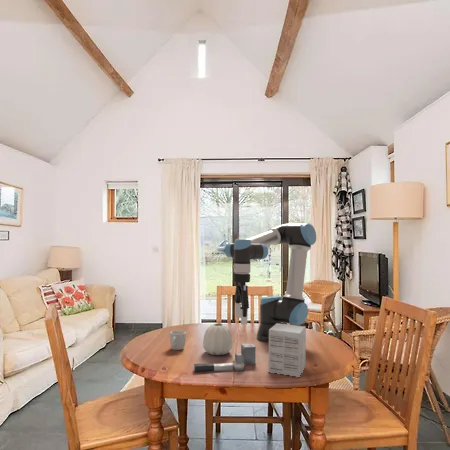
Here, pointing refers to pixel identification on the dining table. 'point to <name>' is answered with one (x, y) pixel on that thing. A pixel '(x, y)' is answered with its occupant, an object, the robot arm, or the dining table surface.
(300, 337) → the supplement box
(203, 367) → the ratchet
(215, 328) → the vase
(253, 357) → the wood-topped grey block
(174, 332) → the cup
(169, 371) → the dining table surface
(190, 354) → the dining table surface
